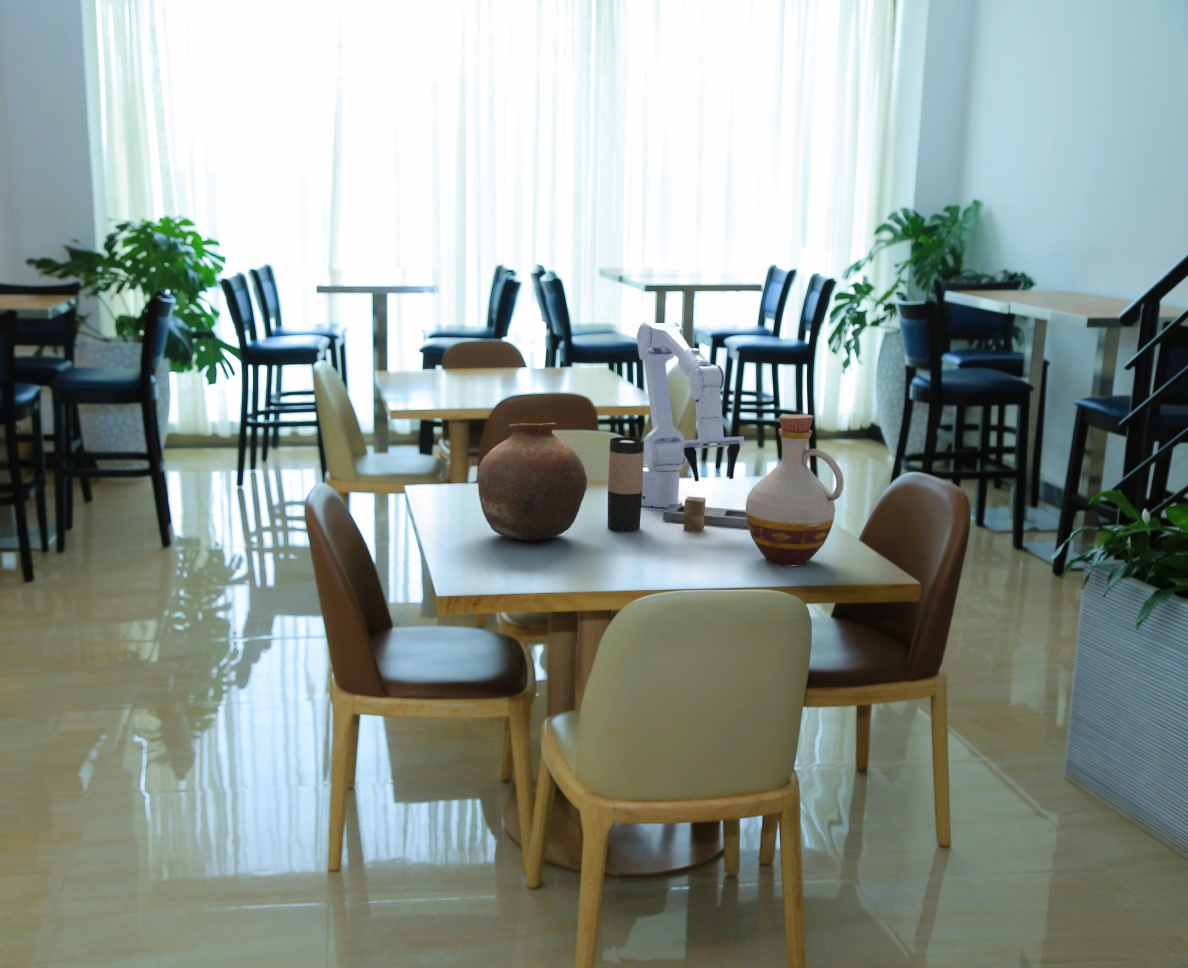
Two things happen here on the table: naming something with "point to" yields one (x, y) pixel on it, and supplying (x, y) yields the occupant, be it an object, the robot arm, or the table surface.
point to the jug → (793, 500)
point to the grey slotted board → (710, 516)
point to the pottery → (531, 484)
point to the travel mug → (625, 484)
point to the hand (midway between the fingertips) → (714, 480)
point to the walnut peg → (694, 514)
